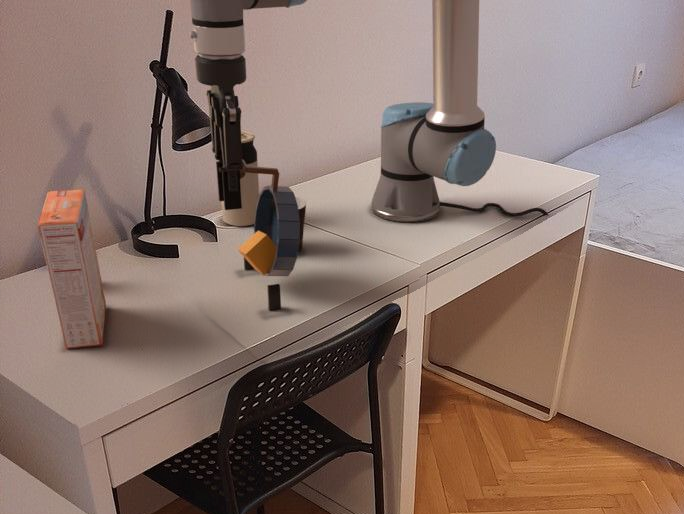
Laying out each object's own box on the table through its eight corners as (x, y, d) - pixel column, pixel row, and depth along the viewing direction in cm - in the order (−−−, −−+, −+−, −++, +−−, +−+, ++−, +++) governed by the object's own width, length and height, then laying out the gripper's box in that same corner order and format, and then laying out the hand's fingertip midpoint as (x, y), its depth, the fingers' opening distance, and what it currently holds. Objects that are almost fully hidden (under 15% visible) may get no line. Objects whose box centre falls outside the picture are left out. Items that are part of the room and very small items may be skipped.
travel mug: (236, 230, 170) (229, 143, 160) (215, 218, 175) (208, 134, 165) (267, 221, 174) (263, 137, 165) (247, 210, 179) (242, 128, 170)
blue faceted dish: (282, 149, 142) (216, 143, 137) (308, 176, 130) (236, 171, 125) (269, 256, 151) (207, 254, 147) (292, 290, 139) (225, 289, 135)
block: (258, 230, 142) (237, 249, 142) (266, 234, 138) (245, 254, 138) (276, 251, 145) (255, 270, 144) (285, 255, 141) (264, 275, 140)
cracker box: (70, 309, 138) (46, 189, 127) (107, 306, 139) (87, 187, 128) (62, 350, 127) (35, 222, 115) (102, 347, 128) (79, 220, 117)
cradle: (259, 268, 154) (258, 243, 151) (287, 313, 139) (286, 286, 136) (238, 271, 153) (236, 245, 150) (264, 317, 138) (263, 289, 135)
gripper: (184, 45, 128) (197, 190, 141) (206, 66, 115) (218, 224, 128) (232, 43, 131) (240, 186, 143) (258, 64, 118) (265, 219, 130)
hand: (230, 203), depth 135 cm, fingers closed on blue faceted dish, 4 cm apart
